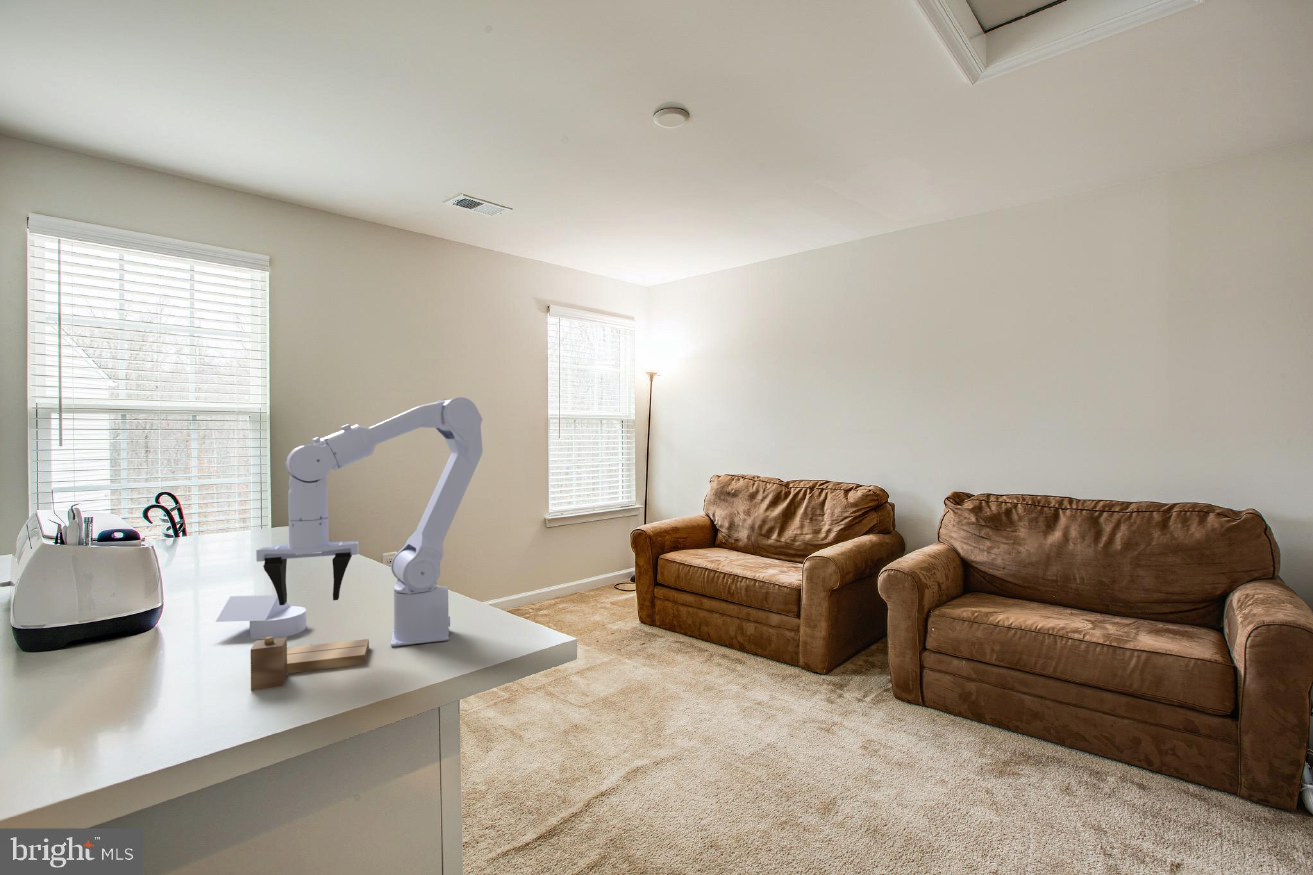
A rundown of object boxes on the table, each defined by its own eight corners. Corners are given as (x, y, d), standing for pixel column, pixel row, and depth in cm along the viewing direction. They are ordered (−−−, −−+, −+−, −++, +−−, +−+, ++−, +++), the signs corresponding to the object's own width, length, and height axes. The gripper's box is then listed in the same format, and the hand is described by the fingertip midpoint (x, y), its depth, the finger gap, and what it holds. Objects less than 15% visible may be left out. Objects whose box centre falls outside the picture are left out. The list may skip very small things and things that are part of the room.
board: (368, 647, 107) (368, 638, 107) (364, 663, 100) (364, 654, 100) (271, 658, 102) (271, 649, 102) (259, 676, 94) (259, 666, 94)
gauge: (291, 665, 99) (291, 622, 99) (283, 686, 91) (282, 640, 91) (262, 668, 98) (262, 625, 98) (250, 691, 89) (250, 643, 89)
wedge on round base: (215, 640, 111) (291, 638, 112) (215, 602, 111) (291, 601, 112) (244, 624, 120) (315, 622, 121) (244, 589, 120) (314, 588, 121)
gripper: (359, 513, 108) (360, 590, 108) (263, 517, 103) (264, 599, 103) (356, 518, 102) (357, 601, 102) (252, 523, 96) (253, 611, 97)
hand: (310, 601), depth 102 cm, fingers open, 7 cm apart
